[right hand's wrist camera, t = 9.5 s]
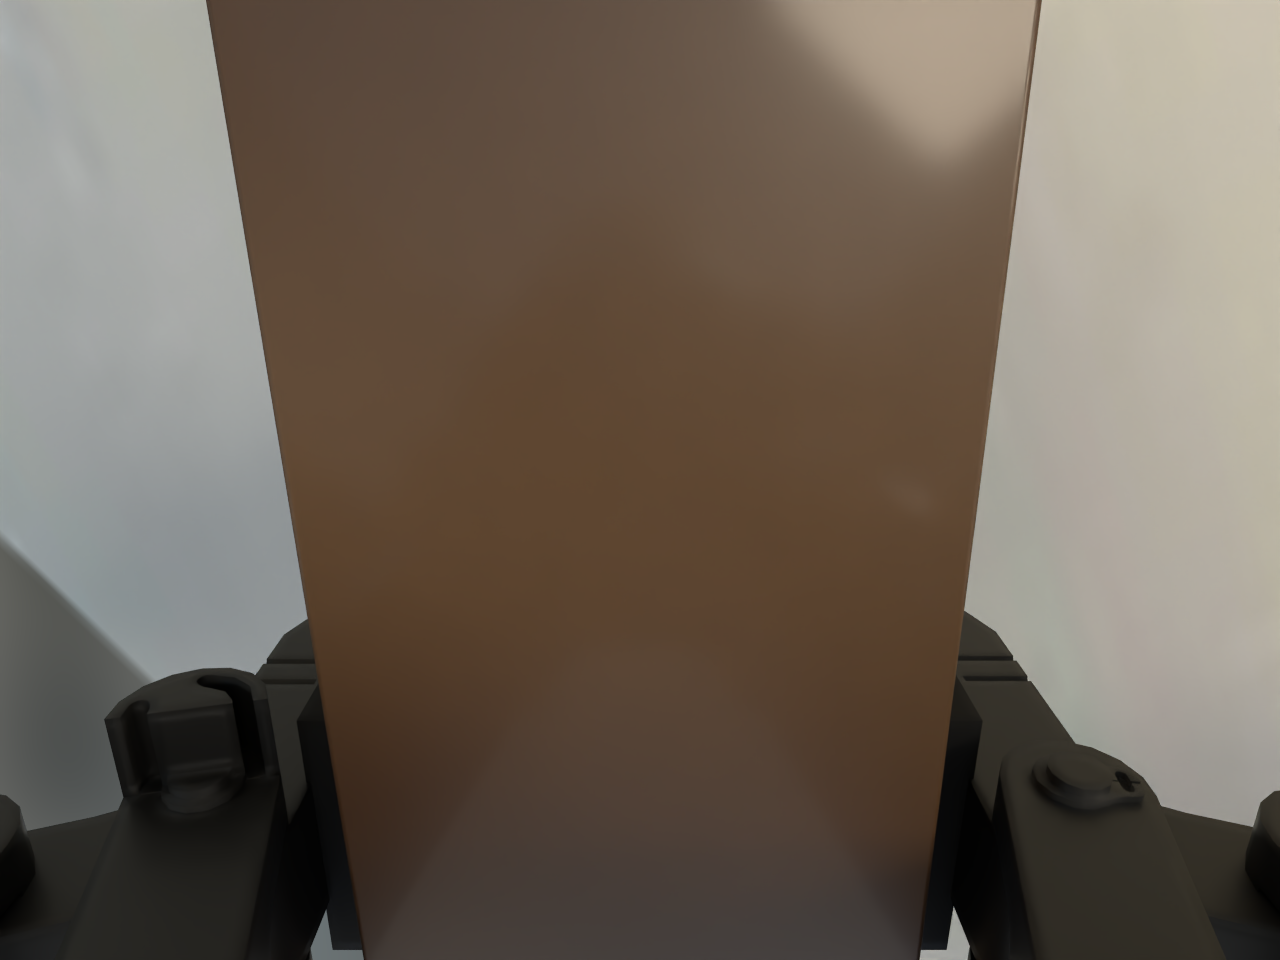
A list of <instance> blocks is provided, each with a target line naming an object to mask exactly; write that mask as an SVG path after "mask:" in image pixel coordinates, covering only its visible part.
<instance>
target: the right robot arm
mask: <svg viewBox="0 0 1280 960" xmlns="http://www.w3.org/2000/svg"><path fill="white" fill-rule="evenodd" d="M104 720H105V724H106V728H107V732H108V737H109V741H110V745H111V749H112V752H113V757H114V761H115V765H116V769H117V773H118V777H119V781H120V785H121V789H122V793H123V800H122V802H121V805H120V807H119V809H118V810H117V811H114V812H110V813H106V814H103V815H99V816H95V817H91V818H86V819H82V820H77V821H72V822H67V823H63V824H58V825H53V826H49V827H44V828H39V829H34V830H30V831H27V830H26V826H25V823H24V819H23V816H22V813H21V809H20V807H19V806H18V805H17V804H16V803H15V802H13V801H12V800H11V799H10V798H8V797H7V796H6V795H0V960H312V954H311V945H312V943H313V940H314V938H315V935H316V933H317V930H318V928H319V926H320V923H321V921H322V918H323V916H324V913H325V911H326V910H327V916H328V923H329V929H330V935H331V942H332V948H333V950H362V945H361V939H360V933H359V926H358V920H357V914H356V908H355V902H354V896H353V890H352V884H351V878H350V872H349V866H348V860H347V854H346V847H345V841H344V835H343V829H342V823H341V817H340V811H339V805H338V799H337V793H336V787H335V781H334V775H333V768H332V762H331V756H330V750H329V744H328V738H327V732H326V726H325V720H324V714H323V708H322V702H321V696H320V689H319V683H318V677H317V671H316V665H315V659H314V653H313V647H312V641H311V635H310V629H309V623H308V619H307V620H305V621H304V622H302V623H301V624H299V625H298V626H296V627H295V628H293V629H292V630H290V631H289V632H287V633H286V634H284V636H283V637H282V638H281V640H280V641H279V643H278V644H277V645H276V647H275V648H274V650H273V651H272V652H271V654H270V655H269V657H268V658H267V664H263V665H262V667H261V668H260V669H259V671H258V672H257V674H256V675H254V674H253V673H249V672H245V671H241V670H237V669H233V668H205V669H198V670H193V671H189V672H184V673H179V674H174V675H171V676H168V677H166V678H163V679H161V680H158V681H156V682H153V683H151V684H148V685H145V686H143V687H141V688H140V689H138V690H137V691H135V692H134V693H132V694H131V695H129V696H127V697H126V698H124V699H123V700H121V701H120V702H119V703H118V704H117V705H116V706H115V707H114V708H113V710H112V711H111V712H110V713H109V714H108V716H107V717H106V718H105V719H104ZM953 906H954V908H955V910H956V913H957V915H958V918H959V920H960V923H961V925H962V928H963V930H964V932H965V935H966V937H967V940H968V942H969V945H970V948H969V954H968V960H1280V791H1274V792H1273V793H1272V794H1270V795H1269V796H1268V797H1267V798H1266V799H1264V800H1263V801H1262V802H1261V803H1260V806H1259V810H1258V813H1257V816H1256V820H1255V823H1254V826H1253V827H1250V826H1245V825H1240V824H1236V823H1231V822H1226V821H1221V820H1217V819H1212V818H1207V817H1202V816H1198V815H1193V814H1188V813H1184V812H1180V811H1177V810H1173V809H1170V808H1166V807H1162V806H1161V805H1160V803H1159V801H1158V798H1157V796H1156V795H1155V793H1154V792H1153V791H1152V789H1151V788H1150V786H1149V785H1148V784H1147V782H1146V781H1145V779H1144V778H1143V777H1142V776H1141V775H1139V774H1138V773H1136V772H1135V771H1134V770H1132V769H1131V768H1130V767H1128V766H1127V765H1126V764H1124V763H1123V762H1122V761H1120V760H1118V759H1116V758H1114V757H1112V756H1109V755H1107V754H1105V753H1103V752H1101V751H1098V750H1096V749H1094V748H1091V747H1087V746H1083V745H1079V744H1075V742H1074V741H1073V739H1072V738H1071V737H1070V735H1069V734H1068V732H1067V731H1066V730H1065V728H1064V727H1063V725H1062V724H1061V723H1060V721H1059V720H1058V718H1057V717H1056V716H1055V714H1054V713H1053V711H1052V710H1051V709H1050V707H1049V706H1048V704H1047V703H1046V702H1045V700H1044V699H1043V697H1042V696H1041V695H1040V693H1039V692H1038V690H1037V689H1036V688H1035V686H1034V685H1033V683H1032V682H1031V681H1028V680H1027V675H1026V674H1025V672H1024V671H1023V669H1022V668H1021V667H1020V665H1019V664H1018V662H1017V661H1013V655H1012V654H1011V652H1010V651H1009V650H1008V648H1007V647H1006V645H1005V644H1004V643H1003V641H1002V640H1001V638H1000V637H999V636H998V634H997V633H996V632H995V631H994V630H992V629H991V628H989V627H988V626H986V625H985V624H983V623H982V622H980V621H979V620H977V619H976V618H974V617H973V616H971V615H970V614H968V613H967V612H965V611H964V614H963V622H962V630H961V638H960V646H959V654H958V661H957V669H956V677H955V685H954V693H953V701H952V708H951V716H950V724H949V732H948V740H947V748H946V755H945V763H944V771H943V779H942V787H941V795H940V803H939V810H938V818H937V826H936V834H935V842H934V850H933V857H932V865H931V873H930V881H929V889H928V897H927V905H926V912H925V920H924V928H923V936H922V944H921V950H947V944H948V937H949V931H950V925H951V919H952V912H953Z"/></svg>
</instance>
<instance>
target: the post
mask: <svg viewBox="0 0 1280 960" xmlns="http://www.w3.org/2000/svg"><path fill="white" fill-rule="evenodd" d="M1041 2H1042V0H206V3H207V9H208V15H209V21H210V27H211V33H212V39H213V45H214V51H215V58H216V64H217V70H218V76H219V82H220V88H221V94H222V100H223V106H224V112H225V118H226V124H227V130H228V137H229V143H230V149H231V155H232V161H233V167H234V173H235V179H236V185H237V191H238V197H239V203H240V209H241V216H242V222H243V228H244V234H245V240H246V246H247V252H248V258H249V264H250V270H251V276H252V282H253V288H254V295H255V301H256V307H257V313H258V319H259V325H260V331H261V337H262V343H263V349H264V355H265V361H266V367H267V374H268V380H269V386H270V392H271V398H272V404H273V410H274V416H275V422H276V428H277V434H278V440H279V446H280V453H281V459H282V465H283V471H284V477H285V483H286V489H287V495H288V501H289V507H290V513H291V519H292V525H293V531H294V538H295V544H296V550H297V556H298V562H299V568H300V574H301V580H302V586H303V592H304V598H305V604H306V610H307V617H308V623H309V629H310V635H311V641H312V647H313V653H314V659H315V665H316V671H317V677H318V683H319V689H320V696H321V702H322V708H323V714H324V720H325V726H326V732H327V738H328V744H329V750H330V756H331V762H332V768H333V775H334V781H335V787H336V793H337V799H338V805H339V811H340V817H341V823H342V829H343V835H344V841H345V847H346V854H347V860H348V866H349V872H350V878H351V884H352V890H353V896H354V902H355V908H356V914H357V920H358V926H359V933H360V939H361V945H362V951H363V957H364V960H919V959H920V952H921V944H922V936H923V928H924V920H925V912H926V905H927V897H928V889H929V881H930V873H931V865H932V857H933V850H934V842H935V834H936V826H937V818H938V810H939V803H940V795H941V787H942V779H943V771H944V763H945V755H946V748H947V740H948V732H949V724H950V716H951V708H952V701H953V693H954V685H955V677H956V669H957V661H958V654H959V646H960V638H961V630H962V622H963V614H964V606H965V599H966V591H967V583H968V575H969V567H970V559H971V552H972V544H973V536H974V528H975V520H976V512H977V504H978V497H979V489H980V481H981V473H982V465H983V457H984V450H985V442H986V434H987V426H988V418H989V410H990V402H991V395H992V387H993V379H994V371H995V363H996V355H997V348H998V340H999V332H1000V324H1001V316H1002V308H1003V300H1004V293H1005V285H1006V277H1007V269H1008V261H1009V253H1010V246H1011V238H1012V230H1013V222H1014V214H1015V206H1016V198H1017V191H1018V183H1019V175H1020V167H1021V159H1022V151H1023V144H1024V136H1025V128H1026V120H1027V112H1028V104H1029V97H1030V89H1031V81H1032V73H1033V65H1034V57H1035V49H1036V42H1037V34H1038V26H1039V18H1040V10H1041Z"/></svg>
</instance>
